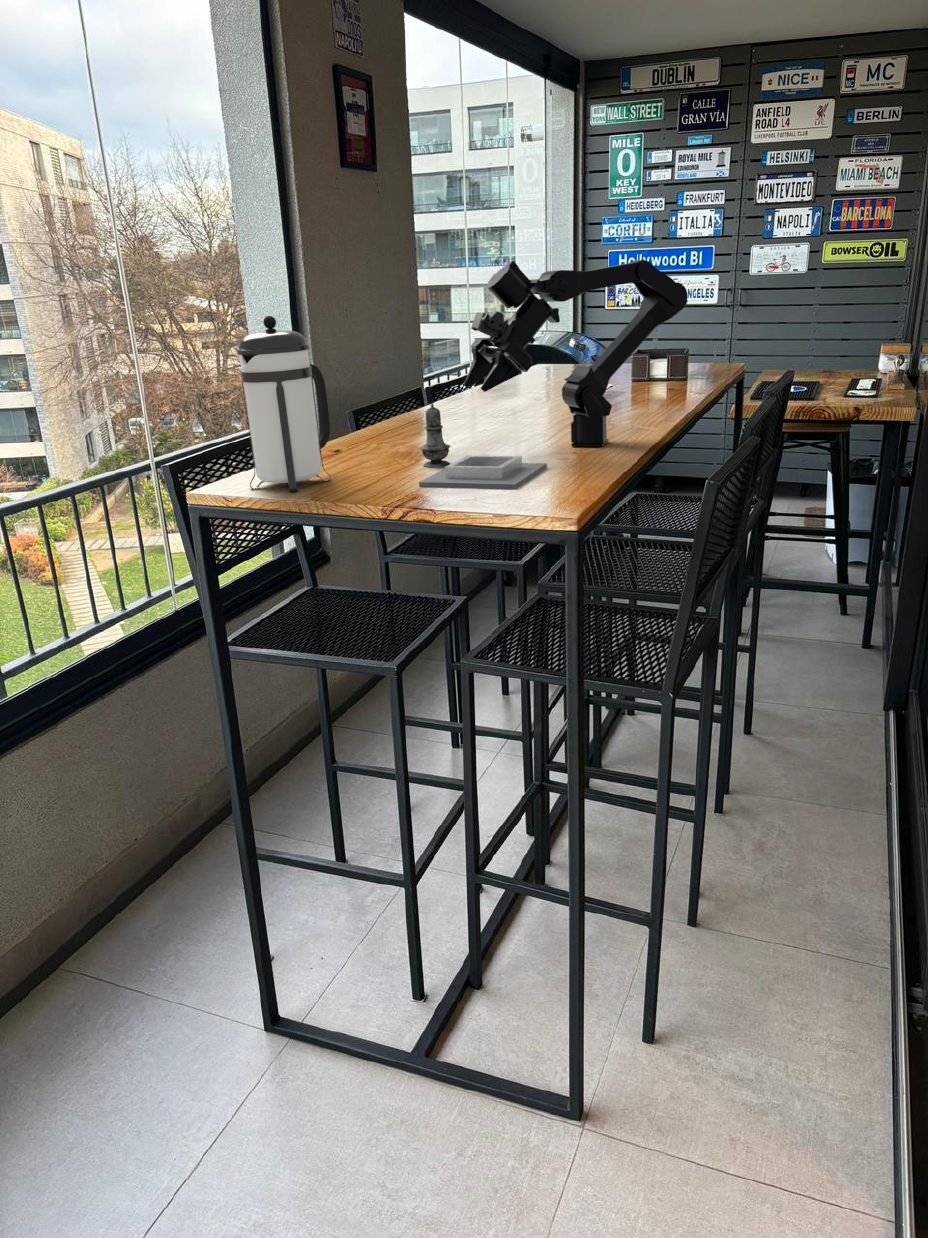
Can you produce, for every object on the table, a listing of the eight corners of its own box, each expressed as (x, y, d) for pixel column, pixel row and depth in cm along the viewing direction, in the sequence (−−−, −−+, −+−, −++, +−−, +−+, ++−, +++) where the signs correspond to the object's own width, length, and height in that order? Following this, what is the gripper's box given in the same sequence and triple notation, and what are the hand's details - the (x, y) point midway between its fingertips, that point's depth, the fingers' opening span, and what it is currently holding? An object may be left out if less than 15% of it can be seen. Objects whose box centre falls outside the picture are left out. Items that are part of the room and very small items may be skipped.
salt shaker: (447, 467, 175) (443, 404, 171) (418, 468, 177) (413, 405, 172) (454, 461, 181) (450, 400, 176) (425, 462, 182) (421, 401, 178)
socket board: (546, 467, 169) (546, 463, 169) (515, 488, 154) (515, 484, 153) (458, 466, 176) (457, 462, 176) (419, 486, 160) (418, 481, 160)
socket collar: (522, 466, 167) (521, 456, 166) (502, 479, 158) (501, 467, 157) (468, 465, 171) (467, 455, 170) (445, 478, 162) (444, 466, 161)
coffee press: (338, 488, 163) (318, 313, 153) (248, 497, 161) (221, 319, 151) (335, 470, 179) (317, 311, 169) (253, 478, 177) (229, 317, 167)
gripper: (477, 296, 181) (429, 357, 181) (515, 295, 164) (461, 362, 165) (515, 334, 186) (467, 394, 186) (555, 337, 169) (503, 403, 170)
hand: (473, 388), depth 177 cm, fingers open, 9 cm apart
